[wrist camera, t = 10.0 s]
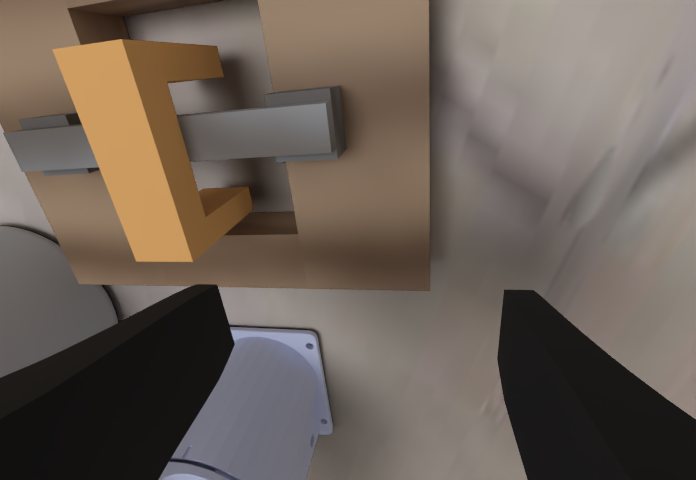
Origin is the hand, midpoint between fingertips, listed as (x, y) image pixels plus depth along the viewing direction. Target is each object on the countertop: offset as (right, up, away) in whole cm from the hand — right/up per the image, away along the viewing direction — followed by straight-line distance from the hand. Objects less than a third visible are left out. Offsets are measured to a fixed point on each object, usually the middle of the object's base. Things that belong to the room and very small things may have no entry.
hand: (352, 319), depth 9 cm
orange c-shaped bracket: (-6, +7, +8) cm, 12 cm away
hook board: (-6, +8, +9) cm, 14 cm away
